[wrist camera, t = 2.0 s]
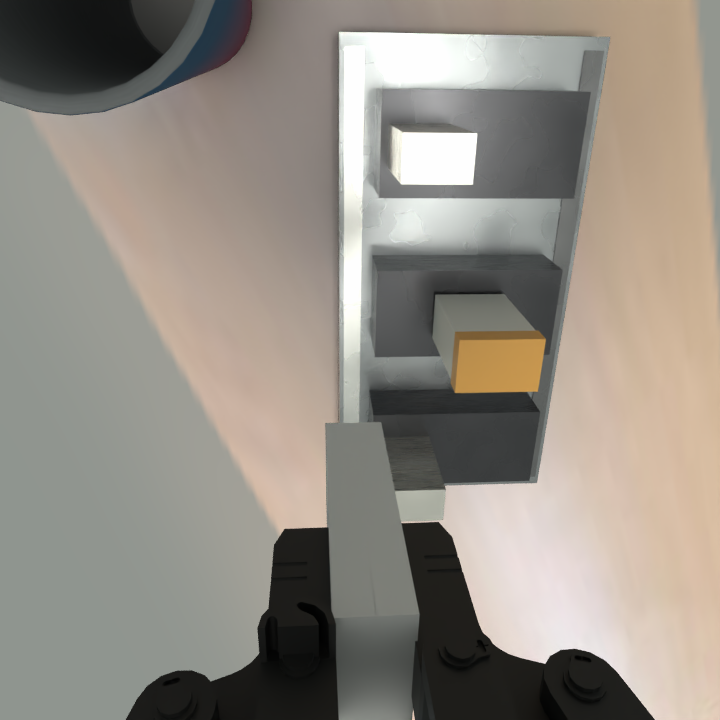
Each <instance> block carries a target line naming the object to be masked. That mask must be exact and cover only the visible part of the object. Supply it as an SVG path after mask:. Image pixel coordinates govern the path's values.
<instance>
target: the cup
mask: <svg viewBox="0 0 720 720" xmlns="http://www.w3.org/2000/svg"><path fill="white" fill-rule="evenodd" d="M251 16H252V2H251V0H0V101H3V102H6V103H9V104H13V105H16V106H19V107H22V108H26V109H29V110H32V111H36V112H44V113H53V114H63V115H79V114H89V113H99V112H105V111H108V110H111V109H114V108H117V107H120V106H123V105H126V104H129V103H132V102H135V101H137V100H139V99H142V98H144V97H147V96H149V95H152V94H154V93H157V92H159V91H161V90H164V89H166V88H169V87H171V86H174V85H176V84H178V83H181V82H183V81H186V80H188V79H191V78H193V77H196V76H198V75H200V74H203V73H205V72H208V71H210V70H213V69H215V68H217V67H219V66H221V65H223V64H224V63H226V62H228V61H229V60H230V59H231V58H232V57H233V56H234V55H235V54H236V53H237V52H238V51H239V49H240V48H241V46H242V45H243V43H244V41H245V39H246V36H247V34H248V31H249V27H250V22H251Z"/></svg>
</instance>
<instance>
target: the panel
mask: <svg viewBox="0 0 720 720" xmlns="http://www.w3.org/2000/svg"><path fill="white" fill-rule="evenodd" d="M609 42H610V37H580V36H529V35H478V34H427V33H375V32H339V33H338V294H339V423H362V422H381V424H382V429H383V434H384V439H385V444H386V449H387V454H388V459H389V464H390V469H391V474H392V479H393V484H394V489H395V494H396V499H397V504H398V509H399V514H400V519H401V521H430V520H443V515H444V503H445V492H446V489H445V486H444V485H478V484H512V483H537V479H538V473H539V467H540V461H541V455H542V449H543V443H544V437H545V431H546V425H547V419H548V412H549V406H550V400H551V394H552V388H553V382H554V376H555V370H556V364H557V358H558V352H559V346H560V340H561V334H562V327H563V321H564V315H565V309H566V303H567V297H568V291H569V285H570V279H571V273H572V267H573V261H574V255H575V249H576V242H577V236H578V230H579V224H580V218H581V212H582V206H583V200H584V194H585V188H586V182H587V176H588V170H589V163H590V157H591V151H592V145H593V139H594V133H595V127H596V121H597V115H598V109H599V103H600V97H601V91H602V85H603V78H604V72H605V66H606V60H607V54H608V48H609ZM450 294H505V295H506V297H507V298H508V299H509V300H510V301H511V302H512V304H513V305H514V306H515V307H516V308H517V309H518V310H519V312H520V313H521V314H522V315H523V316H524V317H525V319H526V320H527V321H528V322H529V323H530V324H531V326H532V327H533V328H534V329H535V330H536V331H539V332H540V333H541V334H542V335H543V336H544V337H545V339H546V342H545V349H544V355H543V362H542V368H541V375H540V381H539V388H538V392H487V393H455V392H454V390H453V387H452V385H451V379H450V376H449V374H448V372H447V370H446V367H445V365H444V363H443V361H442V358H441V356H440V354H439V352H438V349H437V347H436V345H435V343H434V340H433V338H432V336H433V321H434V307H435V295H450Z"/></svg>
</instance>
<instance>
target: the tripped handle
mask: <svg viewBox="0 0 720 720" xmlns="http://www.w3.org/2000/svg"><path fill="white" fill-rule="evenodd" d="M432 338H433V340H434V343H435V345H436V347H437V349H438V352H439V354H440V356H441V358H442V361H443V363H444V365H445V367H446V370H447V372H448V374H449V376H450V379H451V385H452V387H453V390H454V392H455V393H487V392H538V388H539V381H540V375H541V368H542V362H543V355H544V349H545V342H546V339H545V337H544V336H543V335H542V334H541V333H540V332H539V331H536V330H535V329H534V328H533V327H532V326H531V324H530V323H529V322H528V321H527V320H526V319H525V317H524V316H523V315H522V314H521V313H520V312H519V310H518V309H517V308H516V307H515V306H514V305H513V304H512V302H511V301H510V300H509V299H508V298H507V297H506V295H505V294H450V295H435V307H434V321H433V336H432Z"/></svg>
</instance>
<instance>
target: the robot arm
mask: <svg viewBox="0 0 720 720" xmlns="http://www.w3.org/2000/svg"><path fill="white" fill-rule="evenodd" d="M325 424H326V505H327V528H300V529H284V531H283V532H282V534H281V535H280V537H279V538H278V540H277V541H276V543H275V544H274V552H273V566H272V575H271V576H272V577H271V586H270V598H269V609H268V610H267V611H266V612H265V613H264V614H263V615H262V617H261V620H260V622H259V626H258V639H259V640H258V641H259V652H260V653H259V655H258V656H257V657H256V658H255V659H254V660H253V661H252V662H251V663H250V664H249V665H247V666H246V667H244V668H243V669H242V670H239V671H237V672H235V673H233V674H231V675H228V676H225V677H222V678H220V679H217V680H214V681H211V682H210V680H208V678H207V677H206V676H205V675H202V674H200V673H197V672H194V671H175V672H172V673H169V674H166V675H163V676H161V677H159V678H158V679H156V680H155V681H154V682H152V683H151V684H150V685H148V686H147V687H146V688H145V690H144V691H143V692H142V693H141V695H140V696H139V697H138V699H137V700H136V702H135V704H134V706H133V708H132V709H131V711H130V713H129V715H128V717H127V718H126V720H412V713H413V710H414V716H415V720H655V719H654V718H653V717H652V716H651V714H650V713H649V712H648V711H647V709H646V708H645V707H644V706H643V704H642V703H641V702H640V700H639V699H638V698H637V697H636V695H635V694H634V693H633V692H632V690H631V689H630V688H629V687H628V685H627V684H626V683H625V682H624V680H623V679H622V678H621V677H620V675H619V674H618V673H617V672H616V671H615V670H614V669H613V668H612V667H611V666H610V665H609V664H608V663H607V662H606V661H605V660H603V659H601V658H599V657H598V656H596V655H594V654H592V653H590V652H586V651H582V650H577V649H568V650H560V651H558V652H557V653H555V654H553V655H551V656H550V657H549V659H548V661H547V662H546V664H543V663H539V662H535V661H531V660H526V659H522V658H519V657H516V656H513V655H510V654H507V653H506V652H504V651H502V650H500V649H499V648H497V647H496V646H495V645H494V644H492V642H491V640H490V639H489V638H488V637H487V636H486V635H485V634H484V633H483V632H482V630H481V628H480V626H479V623H478V620H477V617H476V614H475V610H474V607H473V604H472V600H471V597H470V594H469V591H468V587H467V584H466V581H465V578H464V574H463V572H462V568H461V565H460V561H459V558H458V557H457V551H456V548H455V545H454V542H453V538H452V536H451V535H450V534H449V533H448V532H447V531H446V530H445V529H444V528H443V526H442V525H441V524H440V523H439V522H428V523H401V519H400V514H399V509H398V504H397V499H396V494H395V489H394V484H393V479H392V474H391V469H390V464H389V459H388V454H387V449H386V444H385V439H384V434H383V429H382V424H381V422H362V423H325Z"/></svg>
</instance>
